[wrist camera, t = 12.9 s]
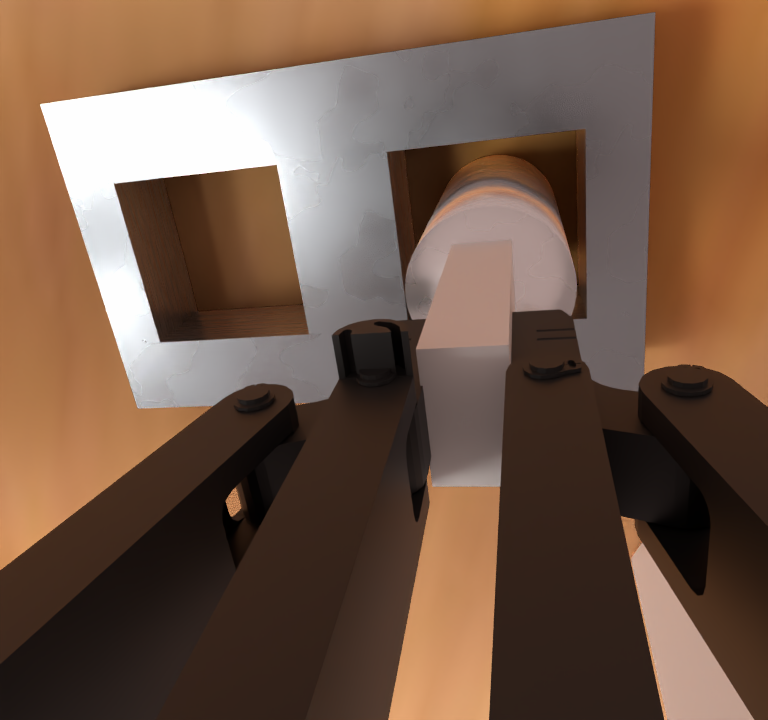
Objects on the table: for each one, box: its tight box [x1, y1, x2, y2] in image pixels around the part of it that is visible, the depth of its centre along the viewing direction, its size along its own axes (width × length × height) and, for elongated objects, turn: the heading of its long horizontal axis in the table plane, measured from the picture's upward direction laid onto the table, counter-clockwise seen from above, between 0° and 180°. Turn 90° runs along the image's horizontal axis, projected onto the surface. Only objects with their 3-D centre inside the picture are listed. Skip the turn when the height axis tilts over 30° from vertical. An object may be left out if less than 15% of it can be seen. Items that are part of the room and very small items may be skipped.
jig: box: [40, 12, 655, 408], centre depth 25 cm, size 20×12×4 cm, turn 98°
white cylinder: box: [405, 155, 577, 320], centre depth 21 cm, size 4×4×9 cm
